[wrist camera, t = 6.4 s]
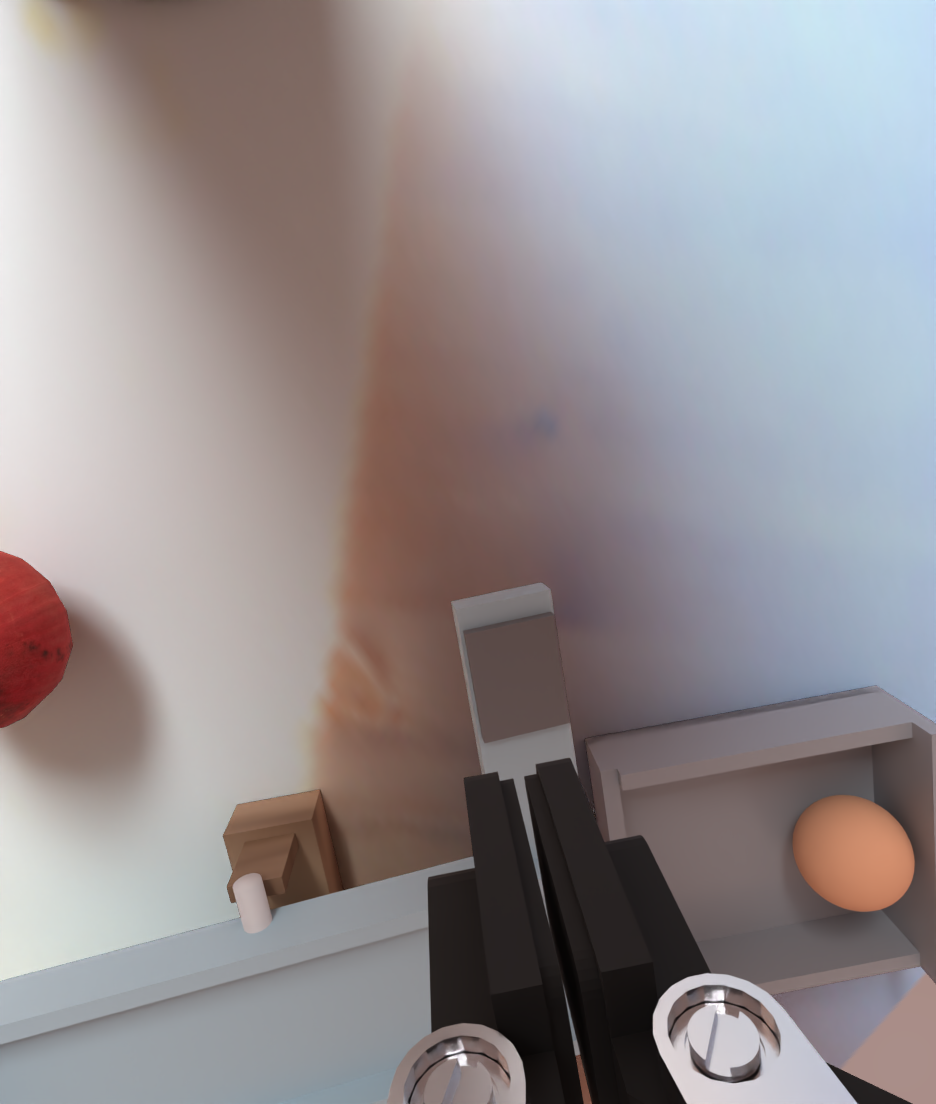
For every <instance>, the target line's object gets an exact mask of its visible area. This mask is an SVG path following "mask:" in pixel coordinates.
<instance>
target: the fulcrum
mask: <svg viewBox="0 0 936 1104" xmlns="http://www.w3.org/2000/svg"><path fill="white" fill-rule="evenodd" d="M223 838H224V841H225V845H226V849H227V852H228V856H229V860H230V863H231V867H232V871H233V873H232V875H231V878H230V880H229V883H228V885H227V890H228V894H229V898H230V901H231V903H234V902H236V899H235V895H234V891H233V884H234V883H235V882H236V881H237V880H238V879H239V878H240V877H242V876H244V875H247V874H250V873H258V874H260V875H261V877H262V881H263V884H264V888H265V892H266V896H267V900H268V903H269V907H270V910H271V909H275V908H279V907H282V906H286V905H290V904H294V903H298V902H301V901H305V900H309V899H313V898H317V897H320V896H324V895H328V894H332V893H336V892H339V891H343V886H342V882H341V878H340V874H339V869H338V865H337V861H336V857H335V852H334V848H333V844H332V839H331V835H330V831H329V827H328V822H327V818H326V814H325V810H324V805H323V801H322V797H321V793H320V790H314V791H309V792H304V793H298V794H293V795H287V796H282V797H276V798H271V799H265V800H260V801H254V802H249V803H243V804H238V805H237V806H236V808H235V810H234V813H233V815H232V817H231V819H230V821H229V823H228V826H227V828H226V830H225V832H224V834H223Z"/></svg>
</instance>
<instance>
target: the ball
mask: <svg viewBox="0 0 936 1104" xmlns="http://www.w3.org/2000/svg"><path fill="white" fill-rule="evenodd" d="M792 847H793V853H794V858H795V861H796V864H797V866H798V869H799V871H800V873H801V874H802V876H803V878H804V879H805V881H806V882H807V883H808V884H809V885H810V887H811V888H812V889H813V890H814V891H815V892H816V893H818V894H819V895H820V896H821V897H823V898H824V899H825V900H827V901H829V902H830V903H832V904H834V905H837V906H839V907H842V908H844V909H848V910H853V911H859V912H870V911H876V910H881V909H883V908H886V907H888V906H890V905H892V904H894V903H895V902H897V901H898V900H899V899H900V898H901V897H902V896H903V895H904V894H905V892H906V891H907V890H908V888H909V886H910V884H911V882H912V879H913V875H914V867H915V859H914V852H913V848H912V845H911V842H910V840H909V838H908V836H907V834H906V832H905V830H904V829H903V827H902V826H901V825H900V823H899V822H898V821H897V820H896V819H895V818H894V817H893V816H892V815H891V814H890V813H889V812H888V811H887V810H885V809H884V808H882V807H881V806H879V805H877V804H876V803H874V802H872V801H870V800H867V799H864V798H861V797H857V796H851V795H833V796H829V797H825V798H822V799H820V800H818V801H816V802H814V803H813V804H811V805H810V806H809V807H808V808H806V809H805V811H804V812H803V813H802V814H801V815H800V817H799V819H798V821H797V823H796V825H795V828H794V832H793V841H792Z"/></svg>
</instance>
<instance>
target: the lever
mask: <svg viewBox="0 0 936 1104" xmlns="http://www.w3.org/2000/svg"><path fill="white" fill-rule="evenodd" d="M451 605H452V610H453V616H454V621H455V627H456V632H457V638H458V644H459V649H460V655H461V660H462V666H463V672H464V677H465V683H466V688H467V694H468V699H469V705H470V711H471V716H472V722H473V727H474V733H475V738H476V744H477V750H478V755H479V761H480V766H481V772H482V774H487V773H492V772H498V775H499V779H500V781H502V780H507V779H512V778H513V779H514V783H515V787H516V791H517V796H518V800H519V804H520V808H521V812H522V816H523V820H524V824H525V828H526V832H527V836H528V841H529V845H530V849H531V853H532V857H533V861H534V865H535V869H536V873H537V877H538V881H539V886H540V890H541V894H542V898H543V902H544V906H545V910H546V914H547V909H546V903H545V897H544V891H543V886H542V880H541V874H540V868H539V862H538V857H537V851H536V845H535V839H534V833H533V827H532V822H531V816H530V810H529V804H528V798H527V792H526V787H525V780H524V776H528V775H533V774H536V764H539V763H544V762H549V761H554V760H559V759H564V758H570V759H571V761H572V763H573V765H574V768H575V770H576V773H577V775H578V771H577V765H576V758H575V751H574V744H573V738H572V731H571V724H570V717H569V710H568V703H567V696H566V689H565V683H564V676H563V669H562V662H561V655H560V649H559V642H558V635H557V628H556V621H555V615H554V608H553V602H552V595H551V589H550V588H548V587H547V586H546V585H545V584H543V583H542V582H540V583H535V584H530V585H526V586H521V587H516V588H512V589H507V590H502V591H497V592H493V593H488V594H483V595H479V596H474V597H469V598H465V599H460V600H455V601H451ZM471 868H475V866H474V858H473V856H472V857H468V858H464V859H461V860H457V861H453V862H449V863H445V864H442V865H438V866H434V867H430V868H426V869H423V870H419V871H415V872H411V873H407V874H404V875H400V876H396V877H392V878H389V879H385V880H381V881H377V882H373V883H370V884H366V885H362V886H358V887H354V888H351V889H347V890H343V891H339V892H336V893H332V894H328V895H324V896H320V897H317V898H313V899H309V900H305V901H301V902H298V903H294V904H290V905H286V906H282V907H279V908H275V909H271V910H270V907H269V903H268V900H267V896H266V892H265V888H264V884H263V881H262V877H261V875H260V874H258V873H250V874H247V875H244V876H242V877H240V878H239V879H238V880H237V881H236V882H235V883H234V884H233V891H234V895H235V899H236V902H237V906H238V910H239V913H240V917H241V918H237V919H233V920H229V921H226V922H222V923H218V924H214V925H211V926H207V927H203V928H199V929H195V930H192V931H188V932H184V933H180V934H176V935H173V936H169V937H165V938H161V939H157V940H154V941H150V942H146V943H142V944H139V945H135V946H131V947H127V948H123V949H120V950H116V951H112V952H108V953H104V954H101V955H97V956H93V957H89V958H86V959H82V960H78V961H74V962H70V963H67V964H63V965H59V966H55V967H51V968H48V969H44V970H40V971H36V972H32V973H29V974H25V975H21V976H17V977H14V978H10V979H6V980H2V981H0V1104H387V1101H388V1095H389V1090H390V1087H391V1084H392V1081H393V1078H394V1075H395V1072H396V1069H397V1067H398V1066H399V1064H400V1063H401V1061H402V1060H403V1058H404V1057H405V1055H406V1054H407V1052H408V1051H409V1050H410V1049H411V1048H412V1047H413V1046H415V1045H416V1044H417V1043H418V1042H419V1041H420V1040H421V1039H422V1038H424V1037H425V1036H427V1035H429V1034H431V1001H430V964H429V928H428V891H427V883H428V877H431V876H436V875H441V874H446V873H451V872H456V871H461V870H466V869H471ZM547 918H548V915H547ZM548 922H549V920H548ZM549 927H550V926H549ZM563 987H564V986H563ZM564 992H565V990H564ZM565 998H566V994H565ZM566 1003H567V1009H568V1015H569V1021H570V1027H571V1033H572V1039H573V1044H574V1050H575V1056H576V1055H579V1054H580V1051H579V1047H578V1043H577V1039H576V1035H575V1031H574V1027H573V1023H572V1019H571V1014H570V1010H569V1006H568V1002H567V998H566Z"/></svg>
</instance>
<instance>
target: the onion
mask: <svg viewBox="0 0 936 1104" xmlns="http://www.w3.org/2000/svg"><path fill="white" fill-rule="evenodd" d="M72 647H73V643H72V637H71V632H70V626H69V621H68V615H67V611H66V609H65V607H64V605H63V603H62V602H61V600H60V598H59V597H58V595H57V593H56V591H55V590H54V588H53V586H52V585H51V583H50V582H49V581H48V580H47V579H46V578H45V577H43V576H42V575H41V574H40V573H39V572H38V571H36V570H35V569H34V568H33V567H32V566H31V565H29V564H28V563H27V562H25V561H24V560H23V559H21V558H18V557H16V556H13V555H10V554H7V553H4V552H2V551H0V728H3V727H6V726H8V725H10V724H12V723H14V722H16V721H19V720H21V719H23V718H24V717H26V716H27V715H28V714H29V713H30V712H31V711H32V710H33V709H34V708H35V707H36V706H37V705H38V704H39V703H40V702H41V701H42V700H43V699H44V698H45V697H46V696H47V695H49V694H50V693H51V692H52V691H53V689H54V688H55V687H56V686H57V684H58V683H59V682H60V681H61V680H62V678H63V675H64V671H65V668H66V665H67V662H68V659H69V656H70V653H71V650H72Z"/></svg>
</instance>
